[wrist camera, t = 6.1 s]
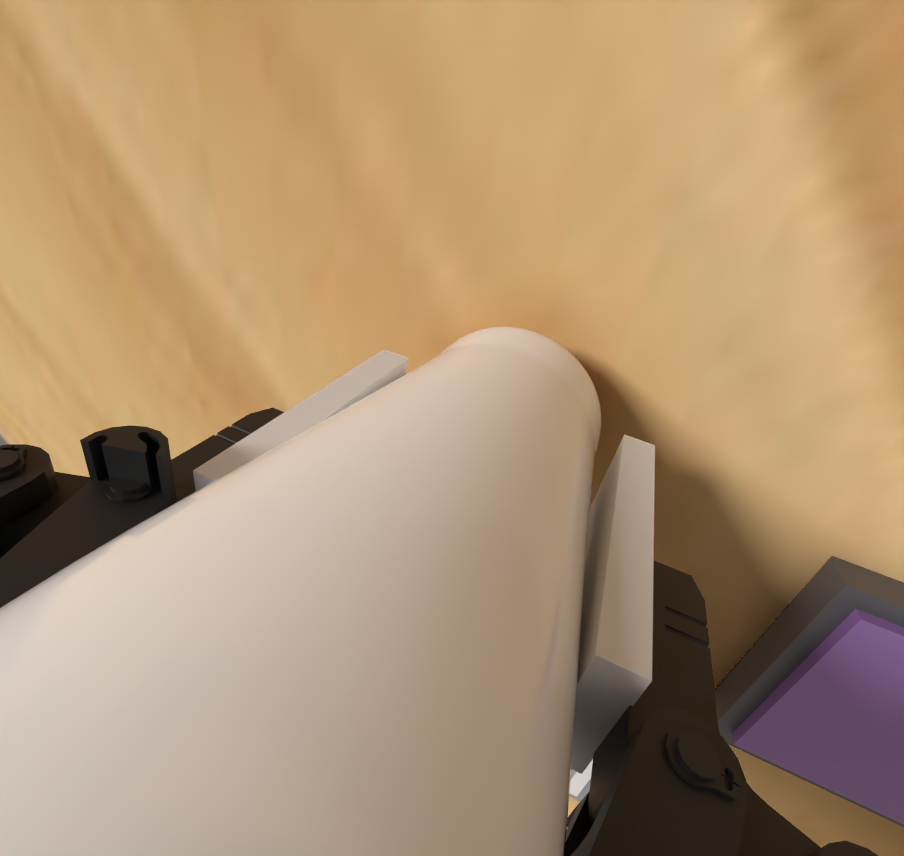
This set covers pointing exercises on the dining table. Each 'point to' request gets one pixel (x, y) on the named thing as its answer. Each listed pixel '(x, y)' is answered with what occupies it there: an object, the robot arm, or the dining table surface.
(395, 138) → the dining table surface
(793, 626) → the ink pad
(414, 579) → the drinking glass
